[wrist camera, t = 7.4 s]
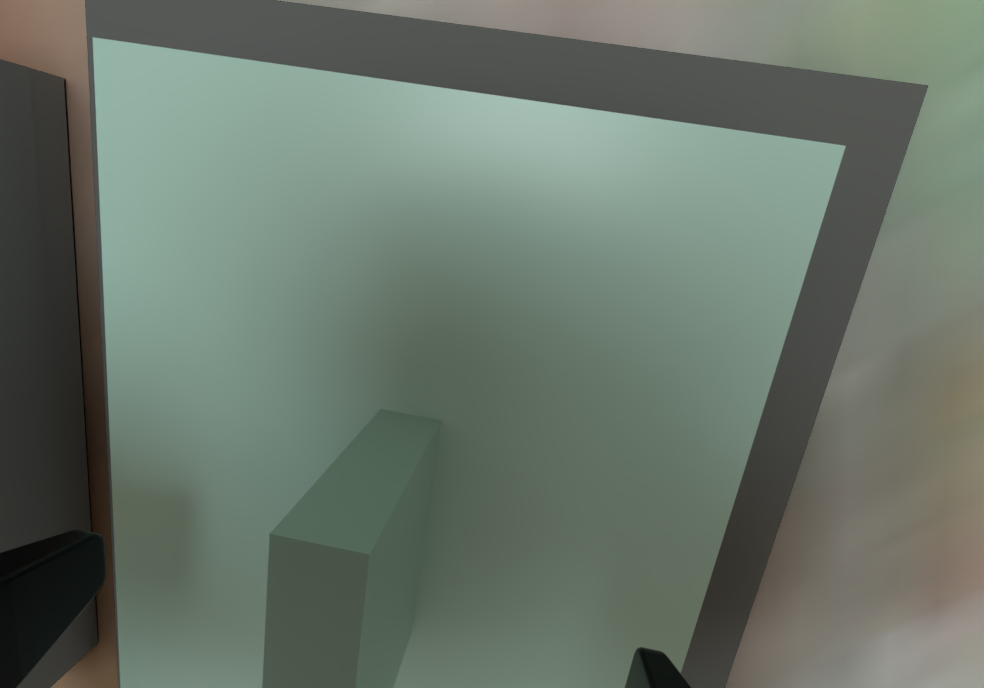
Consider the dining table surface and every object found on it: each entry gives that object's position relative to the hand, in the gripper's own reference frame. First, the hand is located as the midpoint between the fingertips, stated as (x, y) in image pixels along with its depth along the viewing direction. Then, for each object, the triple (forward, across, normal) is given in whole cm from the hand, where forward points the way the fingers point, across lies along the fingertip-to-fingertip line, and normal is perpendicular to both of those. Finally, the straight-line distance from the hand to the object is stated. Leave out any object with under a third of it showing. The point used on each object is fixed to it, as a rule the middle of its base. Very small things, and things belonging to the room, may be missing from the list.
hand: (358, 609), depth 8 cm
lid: (+4, 0, 0) cm, 4 cm away
